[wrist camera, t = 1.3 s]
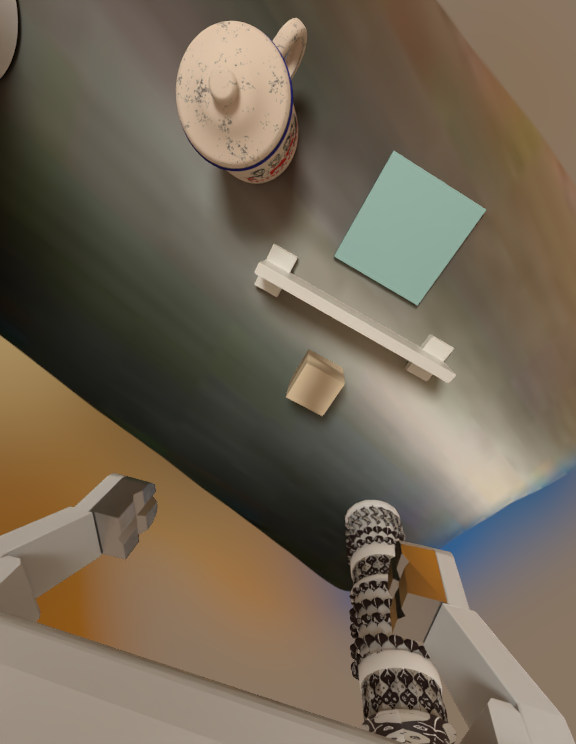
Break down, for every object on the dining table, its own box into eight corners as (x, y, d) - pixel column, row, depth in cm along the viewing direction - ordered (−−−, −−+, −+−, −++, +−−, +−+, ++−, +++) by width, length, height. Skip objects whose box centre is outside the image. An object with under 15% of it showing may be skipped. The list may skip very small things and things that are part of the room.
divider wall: (255, 283, 38) (246, 289, 33) (275, 243, 36) (267, 244, 31) (424, 378, 40) (437, 396, 35) (451, 345, 38) (468, 360, 33)
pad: (334, 256, 36) (334, 256, 35) (392, 152, 31) (393, 150, 31) (416, 304, 37) (417, 305, 36) (483, 210, 32) (486, 209, 32)
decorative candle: (334, 503, 49) (342, 732, 26) (395, 492, 47) (460, 731, 24) (350, 544, 52) (370, 782, 29) (407, 536, 50) (477, 785, 27)
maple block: (290, 379, 42) (285, 397, 38) (308, 349, 40) (306, 363, 36) (322, 397, 43) (322, 416, 38) (342, 367, 41) (344, 383, 36)
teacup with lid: (261, 206, 34) (232, 191, 24) (195, 141, 33) (132, 93, 22) (341, 101, 30) (349, 25, 20) (270, 19, 29) (237, -112, 18)
